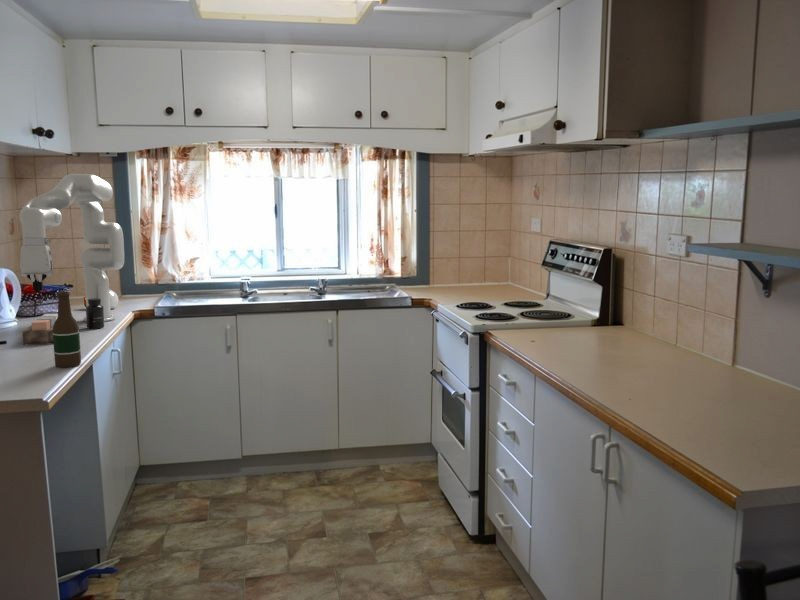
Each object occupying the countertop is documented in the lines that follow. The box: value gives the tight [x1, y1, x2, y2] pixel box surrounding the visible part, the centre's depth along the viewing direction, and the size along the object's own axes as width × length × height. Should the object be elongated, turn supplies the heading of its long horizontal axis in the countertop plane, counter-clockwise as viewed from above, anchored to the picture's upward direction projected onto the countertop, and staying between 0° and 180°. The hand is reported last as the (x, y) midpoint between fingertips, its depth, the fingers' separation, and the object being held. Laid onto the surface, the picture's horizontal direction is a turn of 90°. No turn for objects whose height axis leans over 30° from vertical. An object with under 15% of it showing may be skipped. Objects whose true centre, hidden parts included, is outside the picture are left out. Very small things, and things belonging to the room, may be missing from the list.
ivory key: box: [41, 313, 58, 321], centre depth 277 cm, size 5×5×4 cm
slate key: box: [36, 316, 55, 327], centre depth 270 cm, size 5×5×4 cm
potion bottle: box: [83, 289, 119, 310], centre depth 338 cm, size 9×10×15 cm
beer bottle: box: [53, 290, 82, 369], centre depth 227 cm, size 8×8×24 cm
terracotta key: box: [30, 319, 50, 331], centre depth 263 cm, size 5×5×4 cm
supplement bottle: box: [85, 298, 105, 330], centre depth 292 cm, size 7×7×12 cm
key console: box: [21, 324, 54, 346], centre depth 271 cm, size 11×21×5 cm, turn 13°
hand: (38, 292), depth 261 cm, fingers closed
